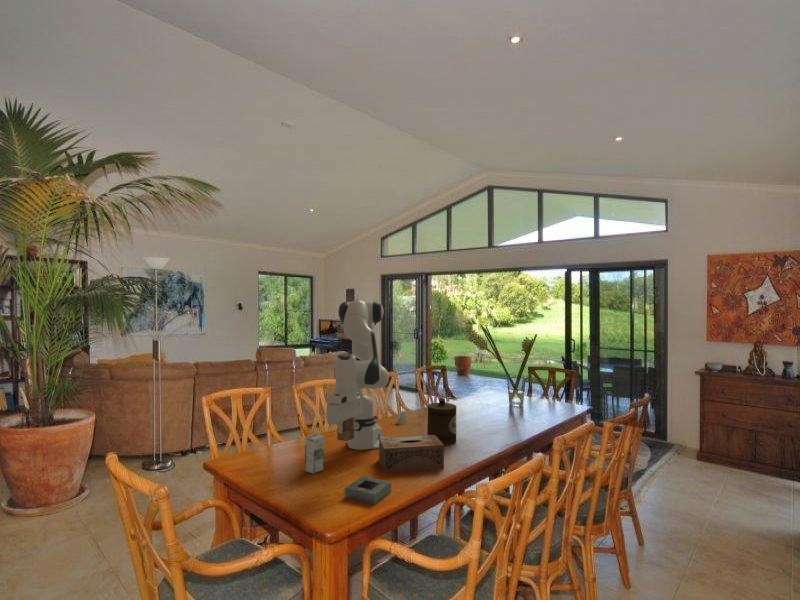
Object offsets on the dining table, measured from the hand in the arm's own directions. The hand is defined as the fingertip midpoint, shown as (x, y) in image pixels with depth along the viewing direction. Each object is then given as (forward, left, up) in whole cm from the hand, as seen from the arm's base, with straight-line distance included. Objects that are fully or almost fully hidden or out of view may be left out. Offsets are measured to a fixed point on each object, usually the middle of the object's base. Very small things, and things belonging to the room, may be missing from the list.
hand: (345, 430), depth 169 cm
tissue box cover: (-29, +14, -20) cm, 38 cm away
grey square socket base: (+6, +14, -20) cm, 25 cm away
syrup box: (-3, -18, -20) cm, 27 cm away
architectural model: (-86, -20, -21) cm, 90 cm away
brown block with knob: (0, 0, -3) cm, 3 cm away
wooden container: (-65, +14, -20) cm, 70 cm away
